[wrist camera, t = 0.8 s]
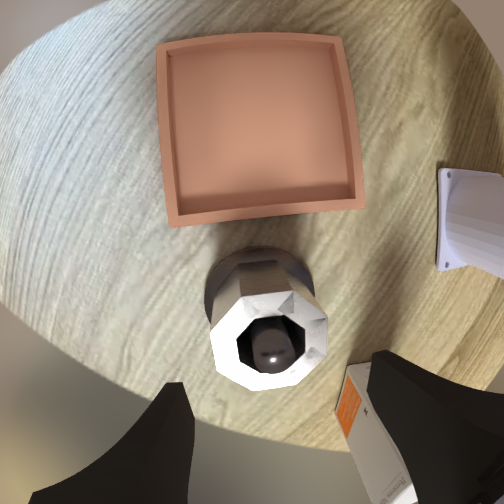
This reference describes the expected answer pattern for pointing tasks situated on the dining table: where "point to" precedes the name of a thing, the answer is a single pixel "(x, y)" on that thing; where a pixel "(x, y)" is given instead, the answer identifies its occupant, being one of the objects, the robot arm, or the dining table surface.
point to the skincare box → (372, 442)
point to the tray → (257, 127)
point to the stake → (267, 328)
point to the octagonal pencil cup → (258, 306)
